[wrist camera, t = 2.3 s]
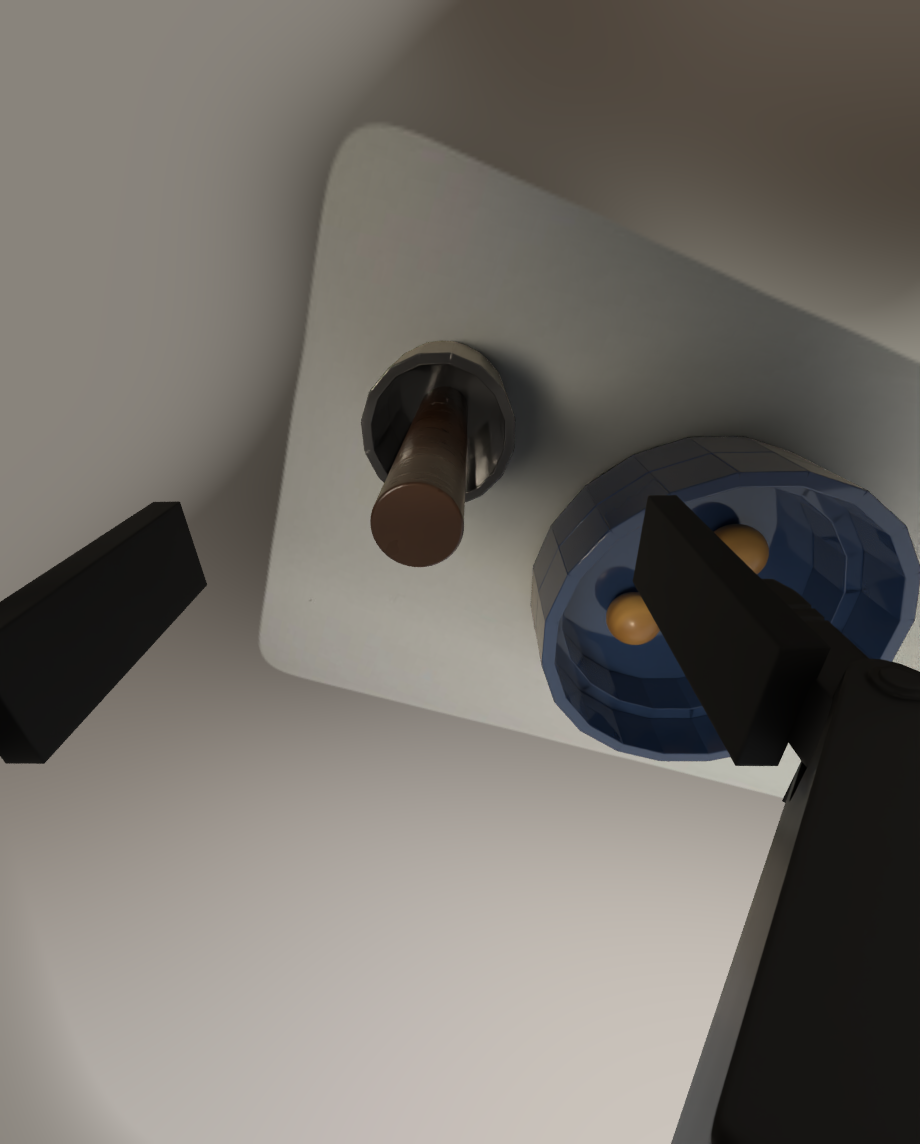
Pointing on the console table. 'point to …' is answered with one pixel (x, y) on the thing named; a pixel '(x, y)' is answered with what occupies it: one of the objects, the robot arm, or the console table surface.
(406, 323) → the console table surface
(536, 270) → the console table surface
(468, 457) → the stick holder
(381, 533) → the stirring stick
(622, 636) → the bead
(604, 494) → the mixing bowl
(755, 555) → the bead
